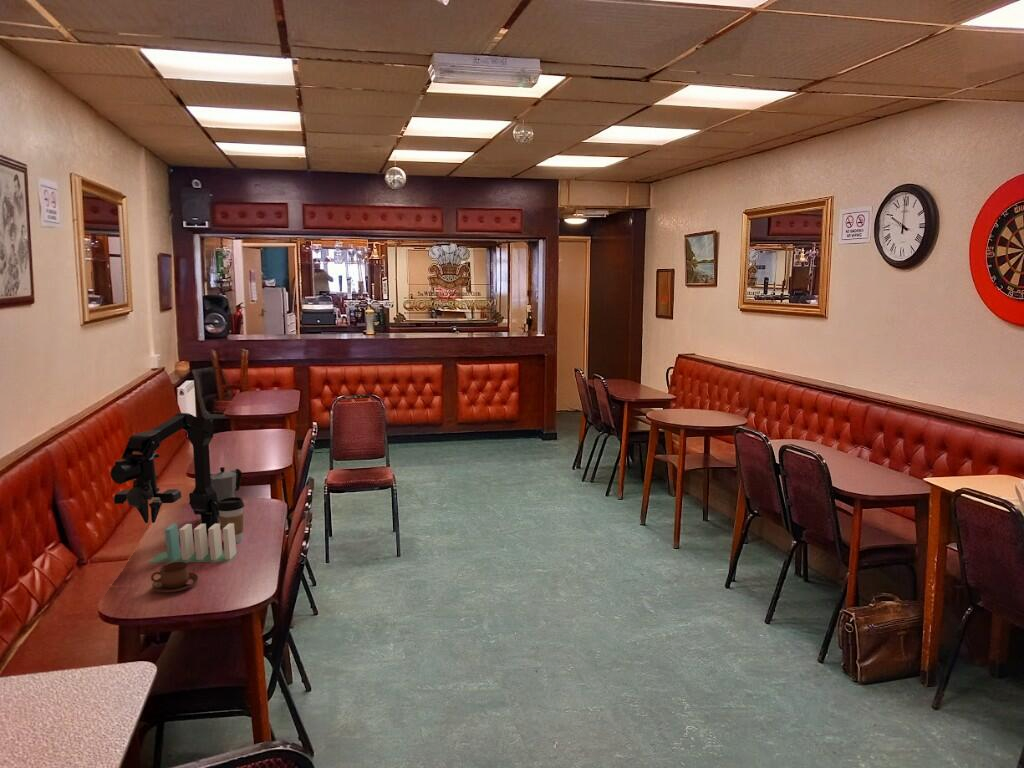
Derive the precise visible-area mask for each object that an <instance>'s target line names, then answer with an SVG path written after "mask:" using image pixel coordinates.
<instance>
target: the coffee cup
mask: <svg viewBox="0 0 1024 768" xmlns="http://www.w3.org/2000/svg"><path fill="white" fill-rule="evenodd" d="M244 507H245V503H244V502H243V498H242V497H239V496H235V497H230V498H225V499H222V500H220V501H218V506H217V510H219V524H220V525H221V529H220V530H221V535H223V528H224V527H225V526H227V525H228V524H229V523H234V530H235V542H236V545H237V544H239V543H242V542H243V541H244V517H245V516H244V513H245V512H244Z"/></svg>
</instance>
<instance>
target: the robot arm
mask: <svg viewBox="0 0 1024 768" xmlns="http://www.w3.org/2000/svg"><path fill="white" fill-rule="evenodd" d="M214 427H215V426H214V423H213V422H212V420H210V419H204V418H202V417H198V416H195V415H193V414H191V413H188V412H187V413H186V412H178V413H176V414H174V415H173V417H171V418H169V419H168V420H167V419H166V421H163V422H161V423H160V424H158V425H157V426H155V427H154V428H152V429H150V430H146V431H141V432H138V433H134V434H132V435H131V436H130V437H129V439H128V441H127V444H126V446H125V448H124V451H123V454H122V456H121V460H119V459H118V460H115V461H114V465H113V466H112V468H111V469H110V477H111V480H112V481H113V483H115V484H118V485H122V484H125V483H127V482H128V483H129V481H132V488H130V489H122V490H121V491H118V492H117V493H115V495H113V505H114V504H116V505H122V504H125V503H126V502H127V504H128V506H131V507H134V508H136V509H137V511H138V513H139V514H140V516H141V518H142V519H143V522H144V523H145V524H148V523H149V517H150V518H151V522H152V524H155V523H156V521H157V517H158V515H159V512H160V510H161V508H162V505H163V504H173V503H176V502H177V501H178V500H180V499H181V498H182V492H181V490H180V489H176V488H175V489H174V488H173V489H171V488H170V489H166V490H165V491H163V492H160V487H158V485H157V483H158V482H157V480H158V479H159V475H157V474H156V466H155V465H156V464H155V462H156V461H155V459H157V458H159V457H160V454H158V453H157V452H155V451H156V450H157V449H159V448H160V446H161V443H162V442H163V441H164V440H166V439H167V438H169V437H171V436H172V435H174V434H176V433H177V432H179V431H181V430H184V431H185V432H186V437H187V439H188V441H189V442H190V444H191V445H192V451H193V470H194V486H195V487H194V489H193V491H192V492H189V493H188V497H189V502H188V503H189V504H188V505H189V506H190V508H191V509H192V511H193V513H194V515H200V524H206V532H207V534H208V529H209V528H210V527H211V526H213V525H214V524H220V519H219V517H218V515H219V510H217V506H218V500H217V494H216V492H215V490H214V489H213V487H212V486H211V475H212V474H211V463H210V462H211V461H210V443H211V442H212V440H213V437H214V431H215V430H214V429H215V428H214ZM149 500H151V502H150V503H149ZM149 507H150V515H149ZM220 530H222V529H221V524H220Z"/></svg>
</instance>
